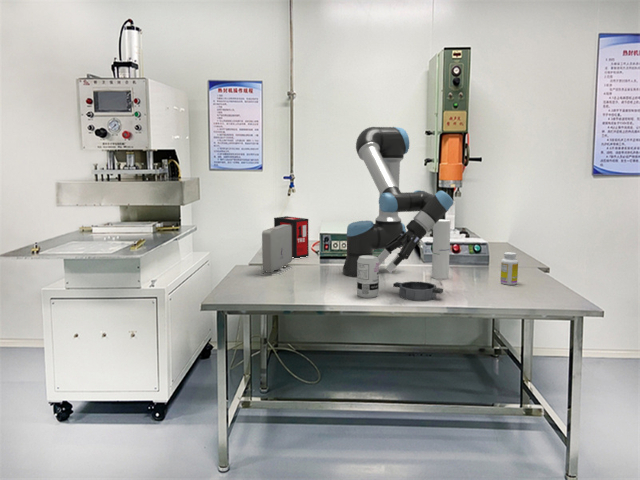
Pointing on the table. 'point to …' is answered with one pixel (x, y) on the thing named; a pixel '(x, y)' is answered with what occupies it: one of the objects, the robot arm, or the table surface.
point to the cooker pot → (417, 290)
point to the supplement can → (367, 276)
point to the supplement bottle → (509, 269)
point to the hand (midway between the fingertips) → (381, 267)
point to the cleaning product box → (296, 234)
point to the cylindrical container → (441, 249)
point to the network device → (276, 248)
